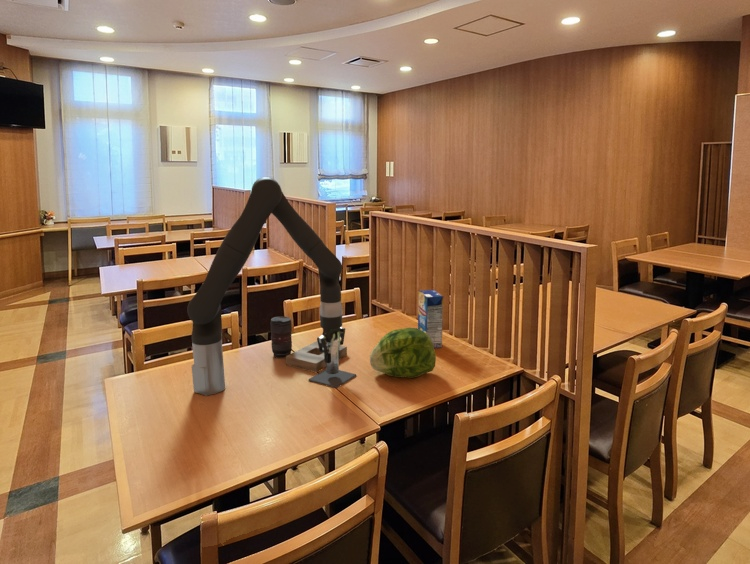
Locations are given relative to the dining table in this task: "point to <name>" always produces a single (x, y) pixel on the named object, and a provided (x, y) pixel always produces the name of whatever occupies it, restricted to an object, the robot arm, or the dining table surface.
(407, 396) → the dining table surface
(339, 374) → the mat
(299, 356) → the holder
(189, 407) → the dining table surface
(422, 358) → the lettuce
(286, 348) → the camera lens
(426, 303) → the beverage box
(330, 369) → the canister
